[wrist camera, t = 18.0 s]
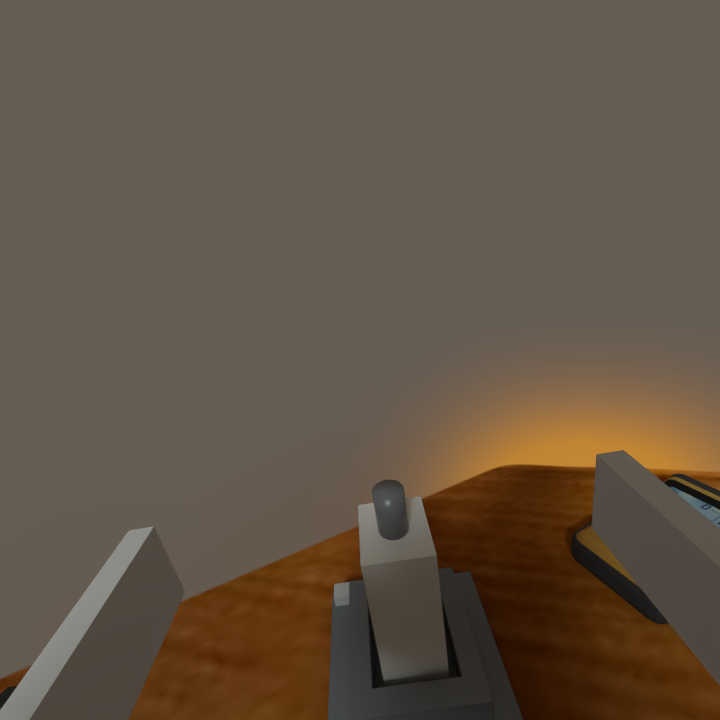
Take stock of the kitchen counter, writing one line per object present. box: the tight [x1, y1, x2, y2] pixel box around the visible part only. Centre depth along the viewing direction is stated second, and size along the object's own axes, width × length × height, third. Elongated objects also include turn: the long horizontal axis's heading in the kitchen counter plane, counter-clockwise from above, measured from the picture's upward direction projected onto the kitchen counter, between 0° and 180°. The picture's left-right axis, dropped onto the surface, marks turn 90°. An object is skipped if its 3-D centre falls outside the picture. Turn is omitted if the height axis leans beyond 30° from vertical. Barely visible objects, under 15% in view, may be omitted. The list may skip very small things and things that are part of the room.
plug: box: [358, 480, 449, 687], centre depth 25 cm, size 4×5×16 cm
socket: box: [328, 567, 523, 720], centre depth 28 cm, size 13×13×4 cm
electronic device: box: [571, 474, 720, 624], centre depth 34 cm, size 9×16×4 cm, turn 114°
